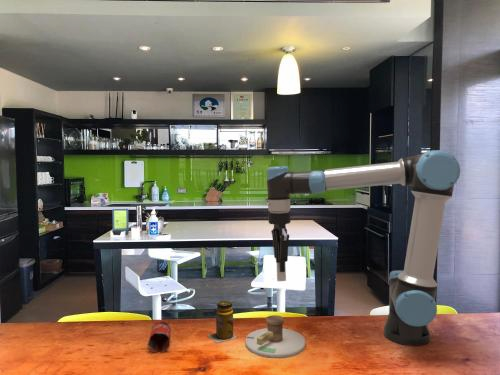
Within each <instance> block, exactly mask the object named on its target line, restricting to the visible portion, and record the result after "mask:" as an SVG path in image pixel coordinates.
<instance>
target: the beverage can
mask: <svg viewBox="0 0 500 375" xmlns="http://www.w3.org/2000/svg"><path fill="white" fill-rule="evenodd" d="M171 331H172V329H171V327H170V325H169V324H168V323H167V322H166V321H163V320H161V321H158V322H156V323H154V325H152V327H151V330H150V334H149V339H148V342H147V347H148V348H149V349H150V350H151V351H152V352H153V353H157V354H161V353H164V352H165V351H167V350H168V349H169V348H170V345H171ZM158 340H159V341H162V349H161V351H159V352H158V350H159V345H158Z"/></svg>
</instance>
